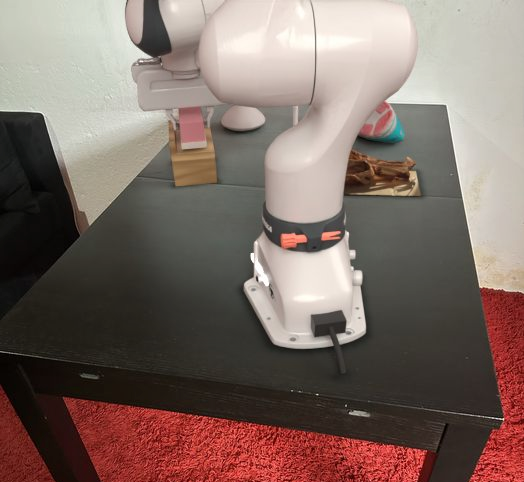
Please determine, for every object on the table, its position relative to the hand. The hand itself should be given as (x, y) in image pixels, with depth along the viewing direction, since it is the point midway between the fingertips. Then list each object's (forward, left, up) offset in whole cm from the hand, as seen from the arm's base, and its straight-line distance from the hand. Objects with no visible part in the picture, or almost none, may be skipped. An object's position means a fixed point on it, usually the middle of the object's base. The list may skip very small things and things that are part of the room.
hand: (192, 128), depth 111 cm
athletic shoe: (+15, -41, -10) cm, 45 cm away
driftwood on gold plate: (-11, -32, -10) cm, 36 cm away
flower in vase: (+26, -13, -10) cm, 31 cm away
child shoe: (+1, 0, -2) cm, 2 cm away
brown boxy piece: (+1, +1, -10) cm, 10 cm away
